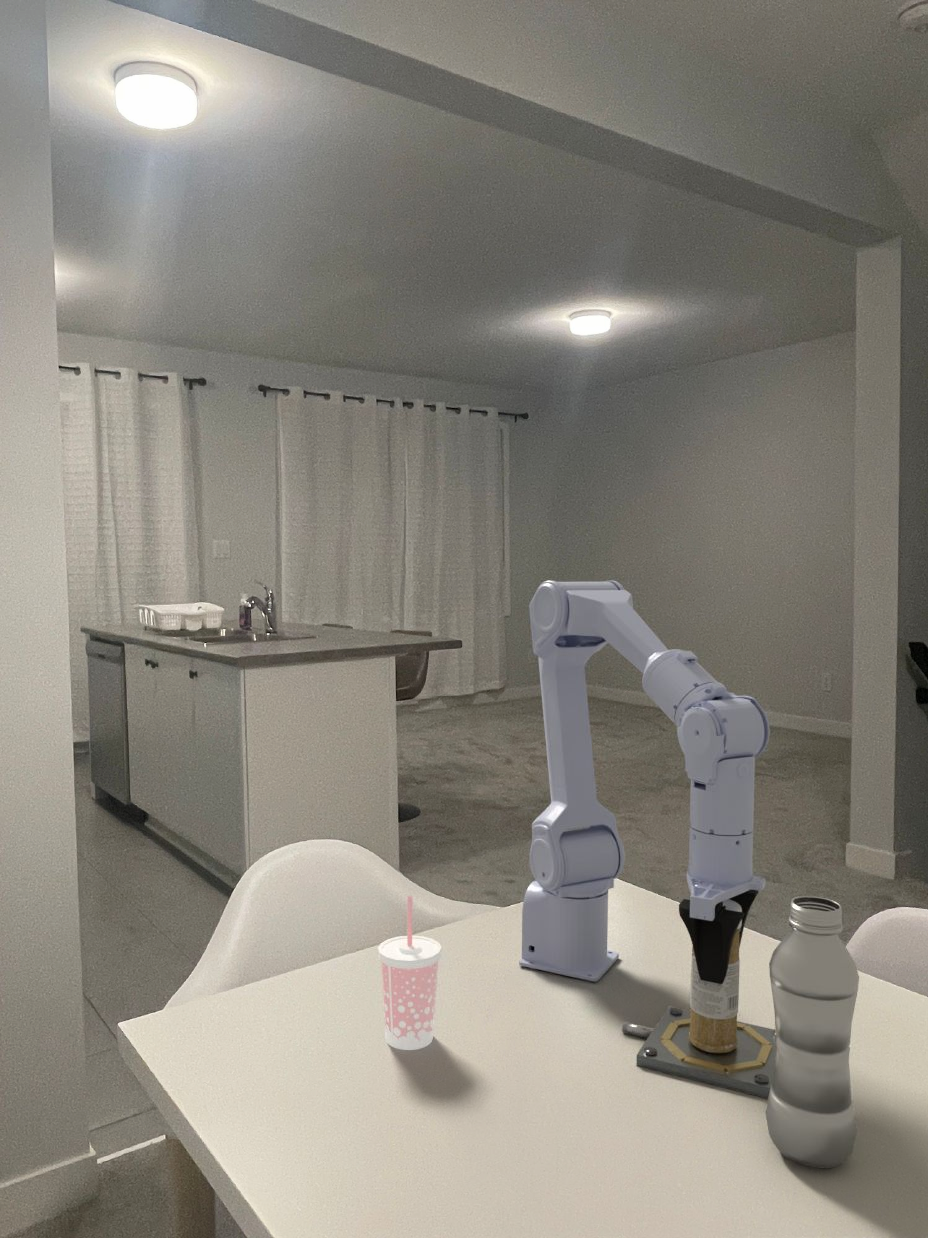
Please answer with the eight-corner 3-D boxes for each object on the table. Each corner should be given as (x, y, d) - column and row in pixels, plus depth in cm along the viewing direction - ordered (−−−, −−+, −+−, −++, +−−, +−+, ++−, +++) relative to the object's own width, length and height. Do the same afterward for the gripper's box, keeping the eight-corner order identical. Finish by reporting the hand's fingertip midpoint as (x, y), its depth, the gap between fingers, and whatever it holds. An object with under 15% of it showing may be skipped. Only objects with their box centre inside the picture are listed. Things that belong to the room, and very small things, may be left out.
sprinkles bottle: (710, 1028, 94) (714, 892, 93) (748, 1047, 90) (752, 906, 89) (677, 1040, 91) (681, 900, 91) (714, 1061, 87) (719, 915, 87)
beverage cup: (454, 1037, 94) (454, 896, 93) (408, 1061, 89) (408, 913, 88) (410, 1017, 98) (410, 881, 97) (364, 1038, 93) (364, 896, 92)
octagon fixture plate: (605, 1057, 90) (605, 1045, 90) (640, 1009, 100) (640, 998, 100) (771, 1099, 83) (771, 1086, 83) (791, 1043, 93) (791, 1031, 93)
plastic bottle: (847, 1192, 71) (855, 926, 70) (754, 1161, 75) (761, 908, 73) (862, 1147, 76) (870, 900, 75) (775, 1120, 80) (782, 884, 79)
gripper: (749, 854, 81) (746, 1011, 82) (779, 815, 94) (775, 951, 95) (667, 842, 84) (664, 994, 85) (706, 806, 97) (704, 938, 98)
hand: (718, 971), depth 90 cm, fingers closed on sprinkles bottle, 4 cm apart
